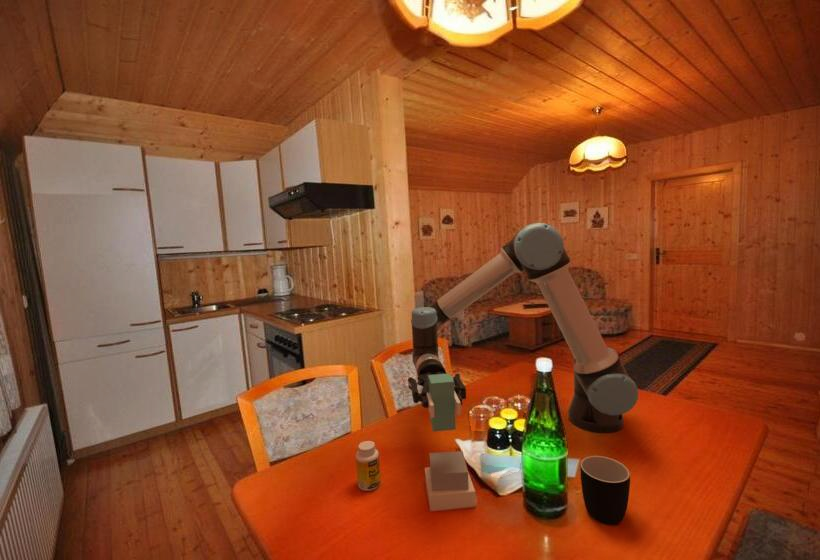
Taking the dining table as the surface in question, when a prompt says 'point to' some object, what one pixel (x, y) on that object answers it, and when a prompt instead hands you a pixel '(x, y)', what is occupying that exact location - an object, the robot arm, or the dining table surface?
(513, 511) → the dining table surface
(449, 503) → the base brick
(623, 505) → the mug
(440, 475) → the grey brick
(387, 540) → the dining table surface
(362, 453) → the supplement bottle
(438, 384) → the teal brick
